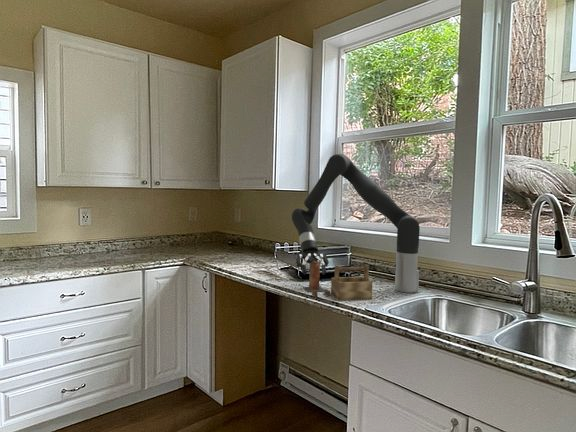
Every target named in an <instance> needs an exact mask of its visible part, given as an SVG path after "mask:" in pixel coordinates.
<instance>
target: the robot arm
mask: <svg viewBox="0 0 576 432" xmlns="http://www.w3.org/2000/svg"><path fill="white" fill-rule="evenodd" d="M339 176H342V178H343V179H345V180H347V181H348V182H349V183H350V184H351V186H352V187H353V188H354V189H355V191H356V193H357V194H358V195H359V197H360V198H361V199H363V200H364V202H366V203H367V204H368V205H369V206H370V207H371V208H373V209H374V210H375V211H377V212H378V213H379V214H381V215H382V216H384V217H385V218H387V219H388V221H390V222H391V223H392V224H393V225H394V227H395V228H396V231H397V233H396V255H395V256H396V257H395V274H394V275H395V276H394V277H395V278H394V279H395V281H394V290H395V291H397V292H400V293H401V292H402V293H407V294H408V293H411V294H412V293H416V292H419V284H420V283H419V281H420V270H419V269H418V264H419V263H418V262H419V260H418V259H419V246H420V222H419V221H418V220H417V219H416V218H415V217H413V216H412V215H411V214H409V213H408V212H406V211H405V210H404V209H402V208H401V207H400V206H399V205H398V204H397V202H395V201H394V200H393V198H392V197H391V196H390V195H389V194H388V193H387V192H386V191H385V190H384V189H383V188H382V187H381V186H380V185H379V184H377V182H375V181H374V180H373V179H372V178H370V177H369V176H368V175H367V174H365V173H363V171H361V170H360V169H359V168H358V167H357V166H356V165H355V163H353V161H352V160H351V159H350V158H349V157H348V156H347V155H345V154H344V153H336V154H332V155H331V156H330V157H329V159H328V161H327V163H326V165H325V167H324V169H323V171H322V173H321V175H320V177H319V179H318V181H316V184H315V185H314V187H313V188H312V189H311V191H310V192H309V194H308V195H307V197H306V199H305V200H304V203H303V204H304V206H305V207H306V208H307V210H305V209H302V208H296V209H294V210H293V211H292V212H291V213H292V214H291V221H292V222H293V225H294V227H295V229H296V231H297V232H298V237H299V238H298V239H299V245H300V250H301V254H300V252H296V255H295V262H296V267H297V268H301V272H302V274H303V275H304V276H306V275H307V267H306V265H307V264H308V265H310V263H312V261H317V262H318V264H320V270H321V272H322V275H326V273H327V267H328V265H329V263H330V261H329V259H328V256H327V252H323V253H320V252H319V247H318V244H317V243H318V242H317V239H316V235H315V233H314V230H313V227H312V225H311V224H312V223H313V221H314V218H315V216H316V213H317V210H318V207H320V206H321V204H322V202H323V201H324V199H325V197H326V195H327V193H328V191H329V189H330V188H331V186H332V184H333V183H334V182H335V180H336V179H337V178H338V177H339ZM301 258H302V259H303V262H301Z"/></svg>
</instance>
